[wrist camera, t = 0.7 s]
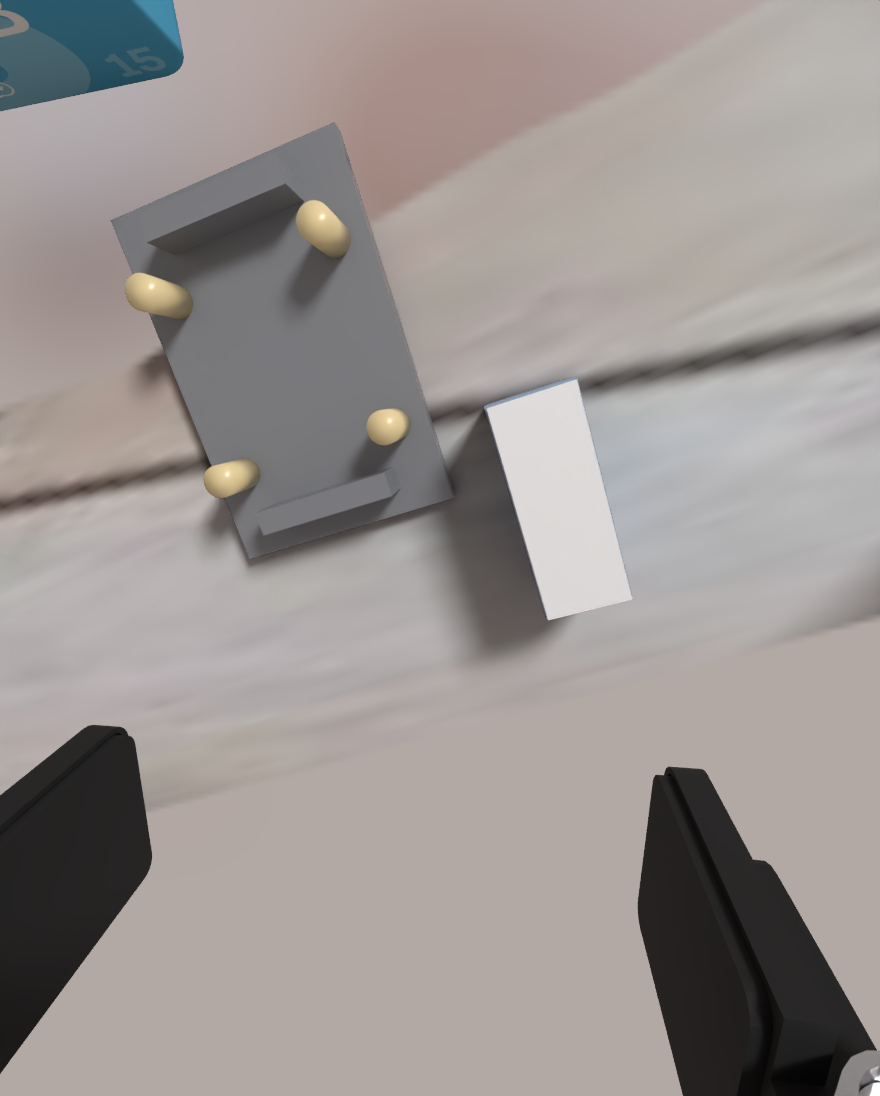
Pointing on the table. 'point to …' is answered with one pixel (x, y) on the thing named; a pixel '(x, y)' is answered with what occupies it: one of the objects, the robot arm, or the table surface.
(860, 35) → the table surface
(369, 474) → the tray
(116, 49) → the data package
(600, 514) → the block
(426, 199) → the table surface
